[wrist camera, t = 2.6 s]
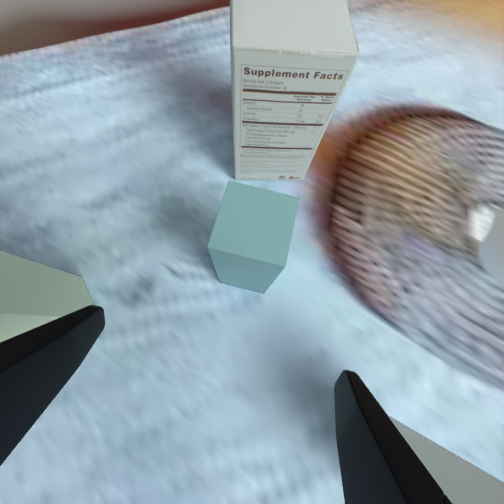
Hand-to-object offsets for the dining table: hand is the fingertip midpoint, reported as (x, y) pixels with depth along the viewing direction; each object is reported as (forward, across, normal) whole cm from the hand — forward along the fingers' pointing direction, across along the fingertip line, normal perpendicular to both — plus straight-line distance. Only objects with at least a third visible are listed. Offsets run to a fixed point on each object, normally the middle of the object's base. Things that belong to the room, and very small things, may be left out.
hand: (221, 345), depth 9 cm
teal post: (+13, 0, +4) cm, 14 cm away
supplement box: (+22, +1, -5) cm, 22 cm away
